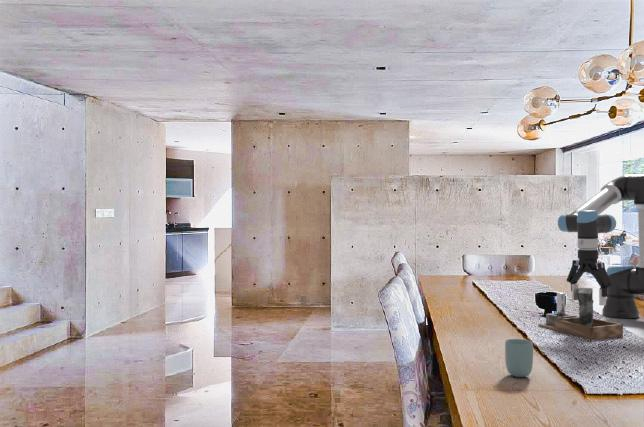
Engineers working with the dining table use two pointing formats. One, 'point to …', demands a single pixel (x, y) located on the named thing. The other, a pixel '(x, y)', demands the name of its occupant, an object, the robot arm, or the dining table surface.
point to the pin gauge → (561, 304)
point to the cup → (519, 357)
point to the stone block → (585, 306)
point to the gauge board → (582, 326)
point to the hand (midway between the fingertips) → (588, 302)
